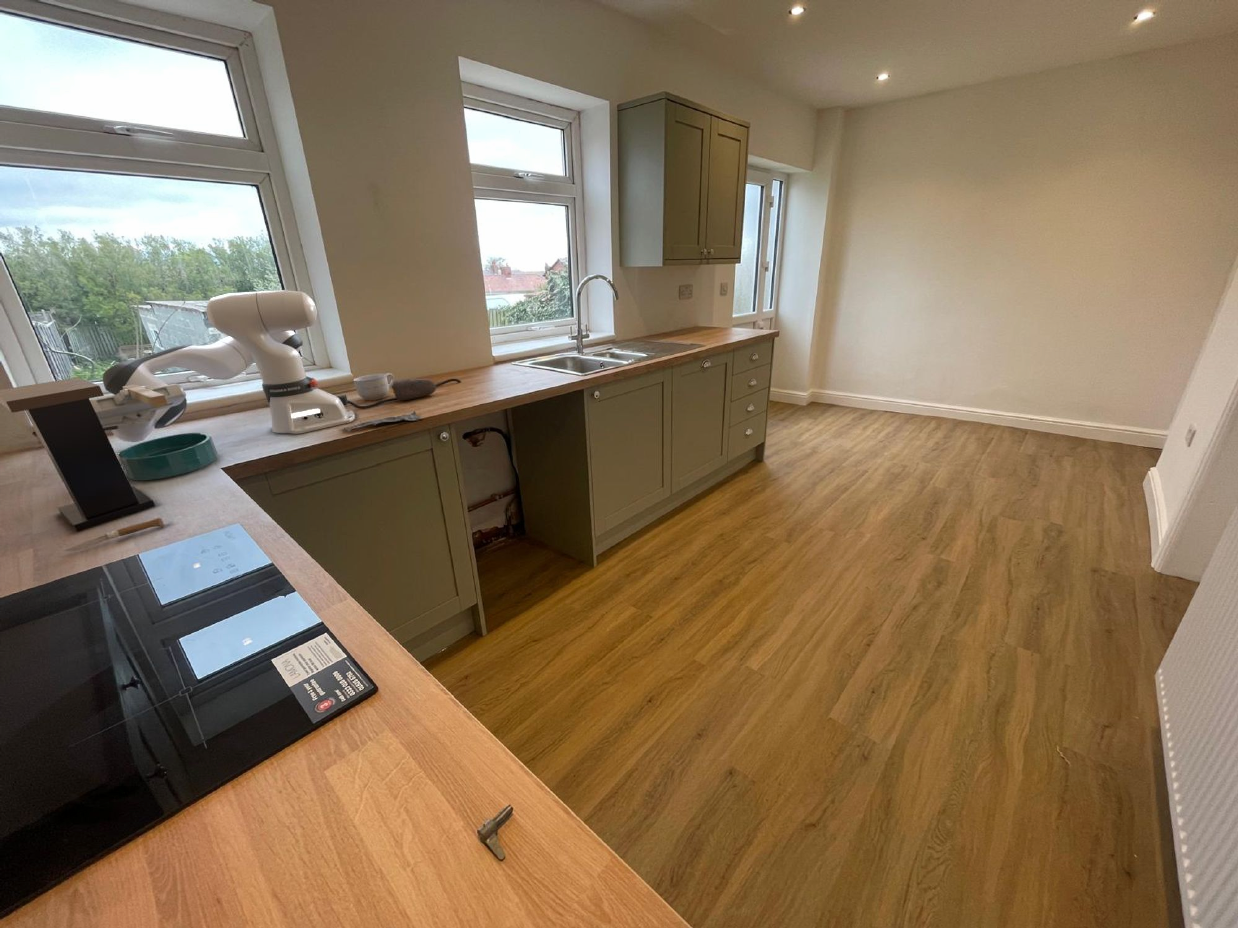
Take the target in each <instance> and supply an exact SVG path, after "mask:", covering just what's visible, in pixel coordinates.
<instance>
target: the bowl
mask: <svg viewBox="0 0 1238 928" xmlns="http://www.w3.org/2000/svg"><path fill="white" fill-rule="evenodd" d="M218 457H219V453H218V451H217V449H216V446H215V443H214V440H213V438H212V436H211V435H210V434H209V433H207V432H188V433H179V434H173V435H166V436H162V437H157V438H153V439H150V440H147V441H141V442H140V443H137V444H134V445H131V446H129V447H127V448H124V449H123V450H121V451H120V452H118V454H117V458H118V460H119V462H120V464H121V466H122V468H123V470H124V472H125V474H126V476H127V478H129V479H130V480H134V481H150V480H161V479H166V478H167V479H168V478H172V477H176V476H180V475H183V474H187V473H190V472H193V471H197V470H198V469H201V468H204V467H205V466H207V465H210V464H212V463H213V462H215V461H216V460H217V459H218Z"/></svg>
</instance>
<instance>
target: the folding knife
mask: <svg viewBox="0 0 1238 928" xmlns="http://www.w3.org/2000/svg"><path fill="white" fill-rule="evenodd" d="M164 526H165V523H164V522H163V518H161V517H157V518H154V519H150V520H148V521H143V522H139V523H135V524H131V525H128V526H124V527H122V528H119V529H116V530H113V531H110V532H106V533H104V534H102V535H99V536H97V537H94V538H90V539H88V540H85V541H83V542H81V543H78V544H76V545H74V546H70V547H67V548H65V549H63V551H64V552H79V551H82V550H85V549H88V548H90V547H93V546H96V545H98V544H99V545H100V544H101V543H103V542H106V541H109V540H112V539H116V538H119V537H124V536H127V535H128V536H129V535H131V534H135V533H137V532H141V531H144V530H147V529H150V528H156V527H159V528H160V527H161V528H164Z"/></svg>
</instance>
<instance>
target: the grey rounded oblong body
mask: <svg viewBox="0 0 1238 928" xmlns="http://www.w3.org/2000/svg"><path fill="white" fill-rule="evenodd" d="M436 384H437V383H435V382H434V381H433V380H431V379H427V378H411V379H407V380H397V381H396V380H395V381H394V382H393V385H392V386H391V389H392V391H393V392H392V393H393V394H394V396H395V397H394V398H397V399H398V400H397V401H409V400H415V399H420V398H425V397H428V396H431V395H432V394H434V393H435V392H436V390H437V387H436Z"/></svg>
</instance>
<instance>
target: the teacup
mask: <svg viewBox="0 0 1238 928" xmlns="http://www.w3.org/2000/svg"><path fill="white" fill-rule="evenodd" d="M388 377H390V379H391V380H390V382H389V381H388ZM395 381H396V377H395V375H394V374H393V373H391V372H386V373H375V374H367V375H363V376H358V377H356V378H354V379H353V382H354V385H355V389H356V392H357V395H358V396H359V397H360V398H361V399H364V401H376V400H381V399H384V398H386V397H387V395H388V394H389V392H390V388H392V386H393V382H395Z"/></svg>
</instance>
